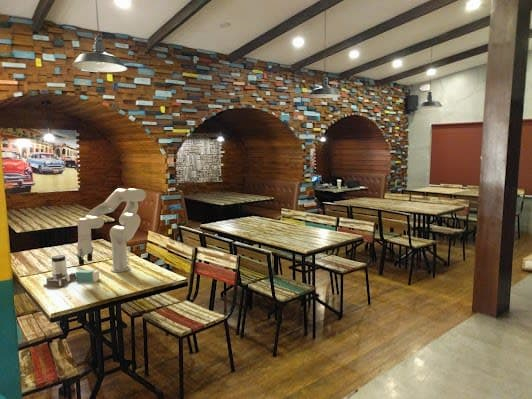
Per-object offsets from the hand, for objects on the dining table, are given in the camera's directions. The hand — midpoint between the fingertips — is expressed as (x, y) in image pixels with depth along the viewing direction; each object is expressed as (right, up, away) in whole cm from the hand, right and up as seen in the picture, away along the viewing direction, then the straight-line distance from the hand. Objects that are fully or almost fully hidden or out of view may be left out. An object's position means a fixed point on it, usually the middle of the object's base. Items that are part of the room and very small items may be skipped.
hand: (85, 263), depth 258 cm
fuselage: (0, -12, +2) cm, 12 cm away
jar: (-25, -10, +16) cm, 31 cm away
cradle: (-15, -12, -1) cm, 19 cm away
